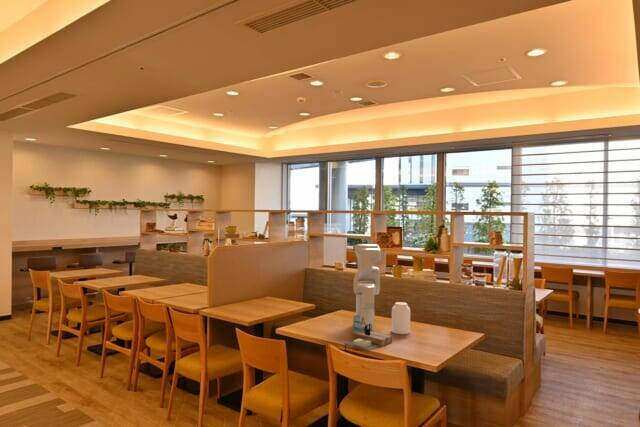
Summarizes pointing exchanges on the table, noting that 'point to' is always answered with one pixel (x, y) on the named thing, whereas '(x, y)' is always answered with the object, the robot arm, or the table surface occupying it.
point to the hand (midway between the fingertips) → (367, 334)
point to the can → (400, 318)
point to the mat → (363, 347)
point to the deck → (374, 337)
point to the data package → (358, 324)
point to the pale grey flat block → (362, 342)
